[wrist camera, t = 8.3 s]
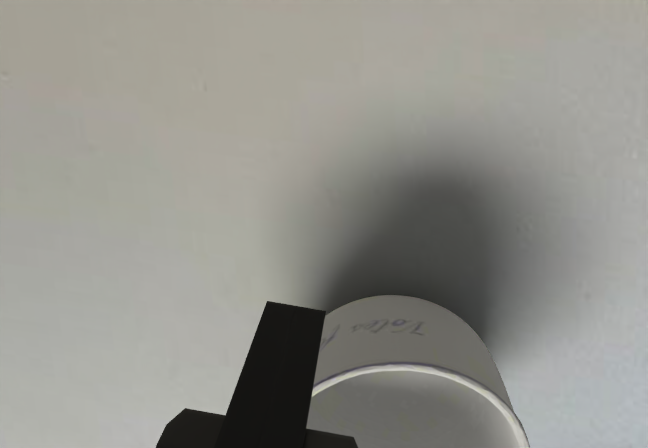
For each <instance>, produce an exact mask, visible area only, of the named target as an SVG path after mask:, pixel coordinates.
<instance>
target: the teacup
mask: <svg viewBox="0 0 648 448" xmlns="http://www.w3.org/2000/svg"><path fill="white" fill-rule="evenodd" d="M306 428H307V429H312V430H318V431H323V432H329V433H335V434H340V435H346V436H352V437H354V439H355V441H356V444H357V446H358V448H530V446H529V442H528V439H527V436H526V433H525V431H524V428H523V426H522V424H521V422H520V420H519V419H518V417H517V416H516V414H515V413H514V410H513V408H512V405H511V402H510V399H509V397H508V394H507V391H506V388H505V386H504V383H503V381H502V378H501V376H500V373H499V371H498V369H497V367H496V364H495V362H494V360H493V358H492V356H491V354H490V353H489V351H488V349H487V347H486V346H485V344H484V343H483V341H482V340H481V339H480V337H479V336H478V335H477V333H476V332H475V331H474V330H473V329H472V328H471V327H470V326H469V325H468V324H467V323H466V322H465V321H463V320H462V319H461V318H460V317H458V316H457V315H456V314H454V313H452V312H451V311H449V310H447V309H446V308H444V307H441V306H439V305H437V304H435V303H433V302H430V301H427V300H423V299H420V298H415V297H410V296H401V295H382V296H373V297H367V298H363V299H360V300H356V301H353V302H350V303H348V304H345V305H343V306H341V307H339V308H337V309H335V310H334V311H332V312H331V313H329V314H327V315H326V316H325V319H324V325H323V331H322V337H321V343H320V349H319V355H318V361H317V367H316V373H315V379H314V386H313V392H312V398H311V403H310V409H309V415H308V421H307V427H306Z"/></svg>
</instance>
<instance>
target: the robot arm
mask: <svg viewBox="0 0 648 448" xmlns="http://www.w3.org/2000/svg"><path fill="white" fill-rule="evenodd" d="M325 313H326V311H322V310H316V309H310V308H304V307H299V306H293V305H287V304H281V303H275V302H269V301H267V303H266V306H265V308H264V311H263V314H262V317H261V320H260V322H259V325H258V328H257V331H256V333H255V336H254V339H253V342H252V344H251V347H250V350H249V353H248V355H247V358H246V361H245V364H244V366H243V369H242V372H241V375H240V377H239V380H238V383H237V386H236V388H235V391H234V394H233V397H232V399H231V402H230V405H229V408H228V410H227V413H226V416H225V415H219V414H214V413H208V412H203V411H197V410H191V409H186V408H185V409H184V410H183V411H182V412H181V413H179V414H178V415H177V416H176V417H175V418H174V419H172V420H171V421H170V422H169V423H168V424H167V425H166V427H165V429H164V431H163V433H162V435H161V437H160V439H159V441H158V443H157V445H156V448H358V446H357V444H356V441H355V439H354V437H352V436H346V435H340V434H335V433H329V432H323V431H318V430H312V429H307V428H306V427H307V421H308V415H309V409H310V403H311V398H312V392H313V386H314V379H315V373H316V367H317V361H318V355H319V349H320V343H321V337H322V331H323V325H324V319H325Z"/></svg>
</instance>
